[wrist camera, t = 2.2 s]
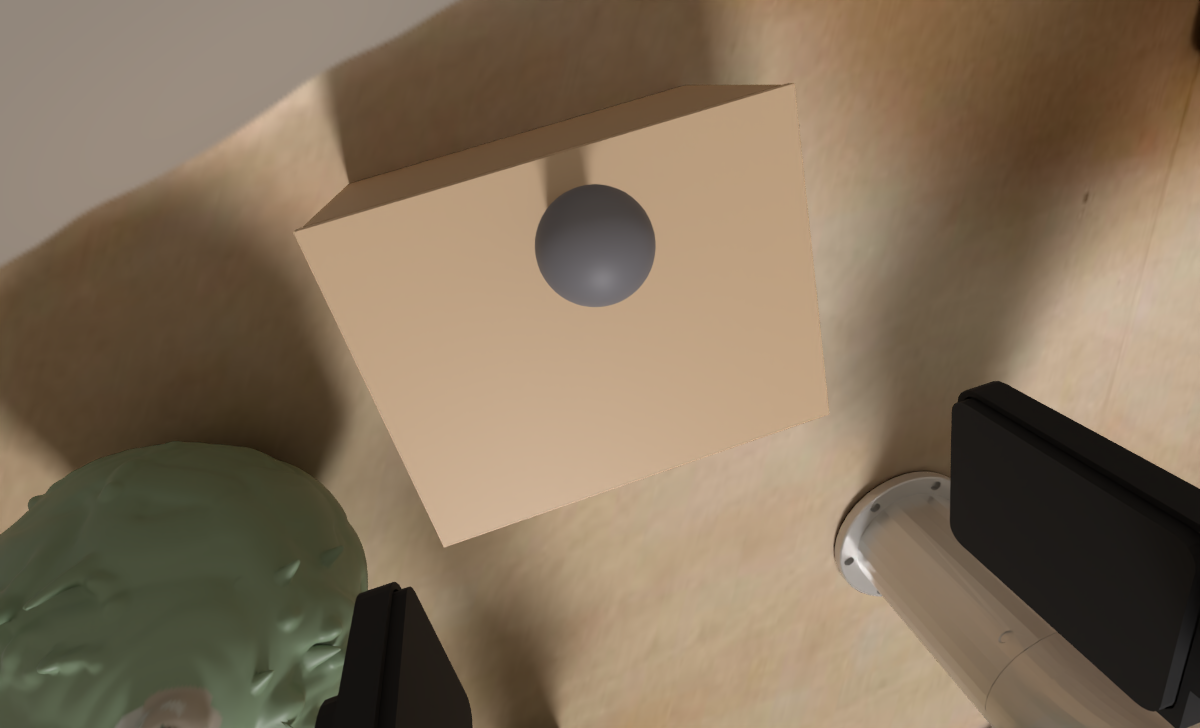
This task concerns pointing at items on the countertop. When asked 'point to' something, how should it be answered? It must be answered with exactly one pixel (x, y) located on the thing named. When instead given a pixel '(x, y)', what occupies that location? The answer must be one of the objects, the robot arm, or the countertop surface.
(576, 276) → the lid
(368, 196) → the carton
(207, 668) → the green lumpy rounded blob
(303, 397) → the countertop surface
